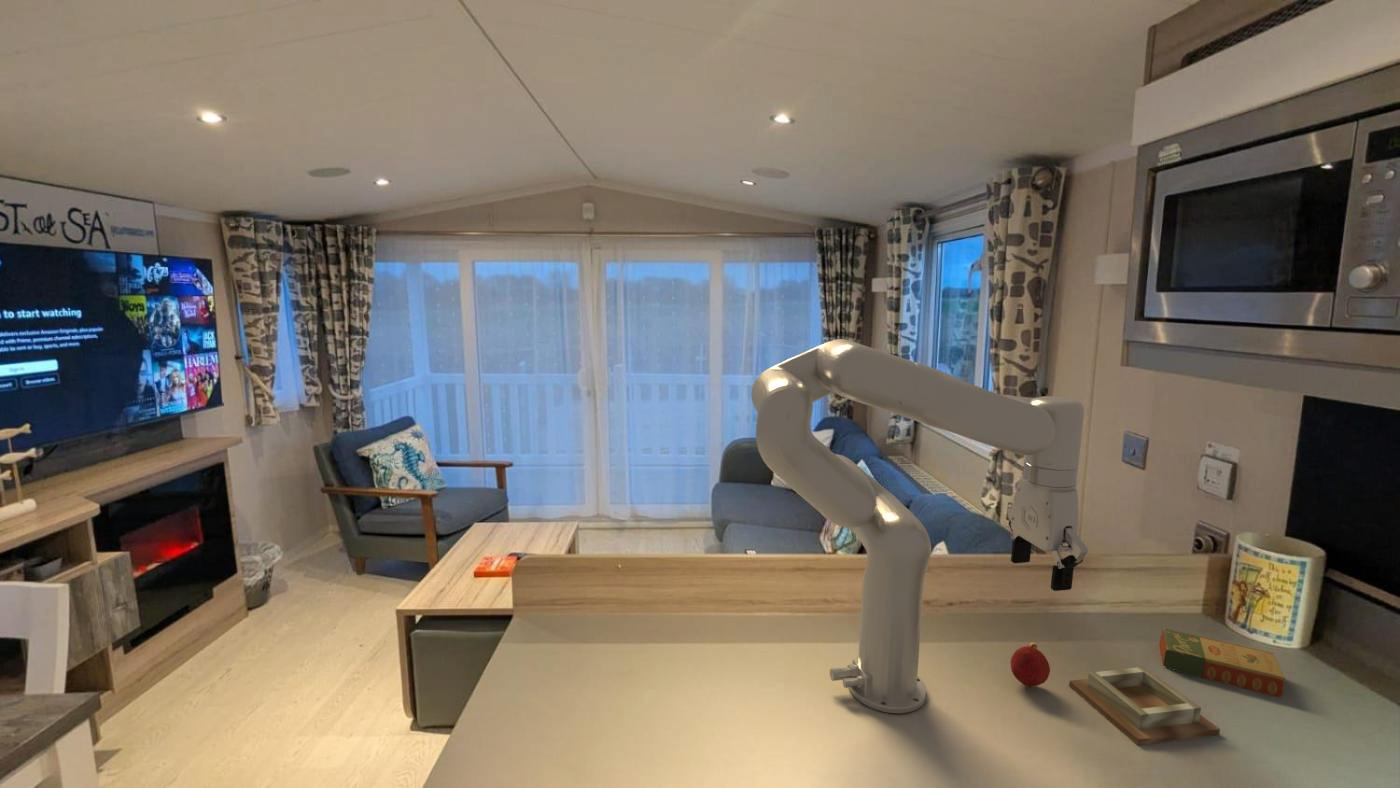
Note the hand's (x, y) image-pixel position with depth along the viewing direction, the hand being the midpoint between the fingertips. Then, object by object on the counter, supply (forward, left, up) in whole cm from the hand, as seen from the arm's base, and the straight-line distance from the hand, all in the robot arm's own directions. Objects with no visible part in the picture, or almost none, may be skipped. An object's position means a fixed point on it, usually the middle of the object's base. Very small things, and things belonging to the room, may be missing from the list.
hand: (1039, 575), depth 103 cm
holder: (+14, -8, -20) cm, 26 cm away
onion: (0, 0, -20) cm, 20 cm away
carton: (+36, -1, -21) cm, 41 cm away
